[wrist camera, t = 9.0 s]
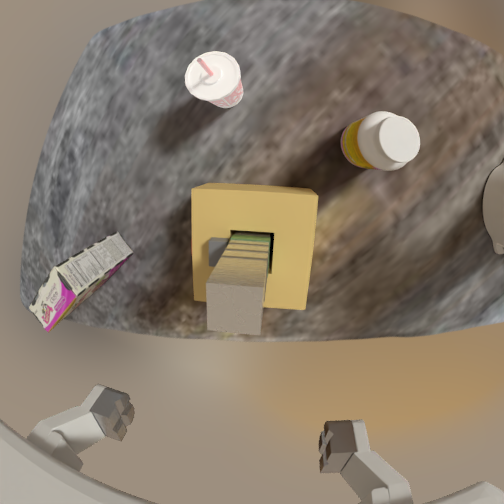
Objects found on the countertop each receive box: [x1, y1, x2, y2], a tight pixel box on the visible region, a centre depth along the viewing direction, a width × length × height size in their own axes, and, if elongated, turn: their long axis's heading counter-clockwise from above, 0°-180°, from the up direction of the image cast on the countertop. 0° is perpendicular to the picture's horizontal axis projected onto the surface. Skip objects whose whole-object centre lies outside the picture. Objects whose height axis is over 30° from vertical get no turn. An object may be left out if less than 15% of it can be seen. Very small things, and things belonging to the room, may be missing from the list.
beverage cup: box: [185, 51, 243, 108], centre depth 27 cm, size 6×6×14 cm
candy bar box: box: [29, 232, 134, 332], centre depth 36 cm, size 11×5×16 cm, turn 128°
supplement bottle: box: [341, 111, 420, 171], centre depth 28 cm, size 7×7×13 cm
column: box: [206, 230, 271, 335], centre depth 27 cm, size 4×4×16 cm
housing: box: [191, 183, 318, 310], centre depth 35 cm, size 14×14×10 cm
